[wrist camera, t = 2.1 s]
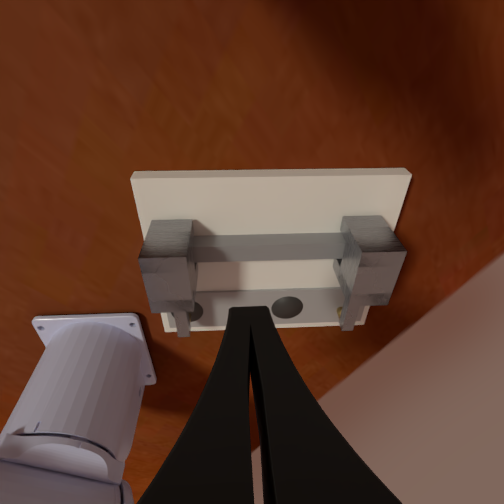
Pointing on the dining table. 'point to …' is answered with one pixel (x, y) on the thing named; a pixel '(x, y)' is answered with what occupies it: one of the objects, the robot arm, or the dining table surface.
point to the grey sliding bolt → (366, 265)
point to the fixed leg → (170, 270)
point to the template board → (268, 235)
